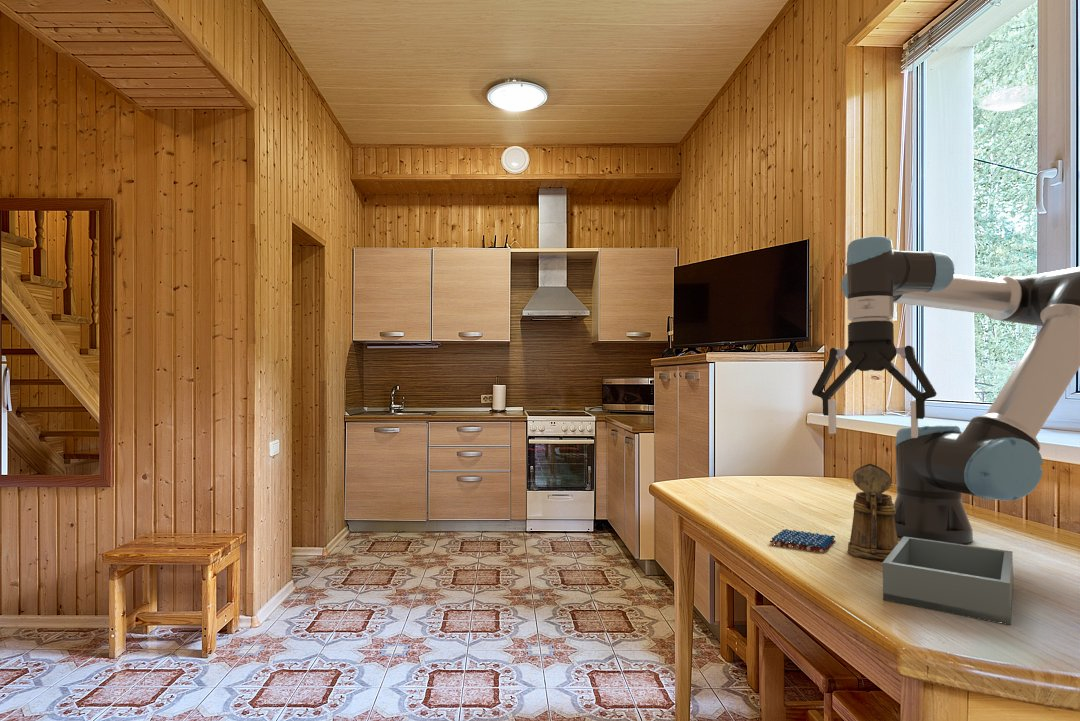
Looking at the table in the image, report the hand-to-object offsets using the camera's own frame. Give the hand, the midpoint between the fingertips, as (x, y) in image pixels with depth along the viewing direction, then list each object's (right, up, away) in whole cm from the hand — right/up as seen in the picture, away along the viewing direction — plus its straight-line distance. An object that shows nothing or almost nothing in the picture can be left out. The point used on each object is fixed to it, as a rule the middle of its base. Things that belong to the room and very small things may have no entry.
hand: (872, 435), depth 114 cm
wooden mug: (0, -23, -1) cm, 23 cm away
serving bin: (+1, -22, -20) cm, 29 cm away
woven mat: (-9, -24, +9) cm, 27 cm away
